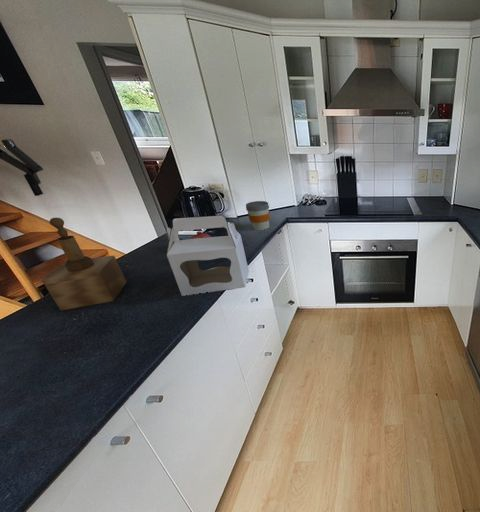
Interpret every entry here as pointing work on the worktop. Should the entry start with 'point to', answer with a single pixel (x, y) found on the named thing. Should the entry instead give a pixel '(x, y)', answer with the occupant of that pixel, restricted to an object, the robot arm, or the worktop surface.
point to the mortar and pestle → (71, 248)
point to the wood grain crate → (86, 284)
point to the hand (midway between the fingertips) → (8, 196)
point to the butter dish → (200, 235)
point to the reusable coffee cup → (258, 214)
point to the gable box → (206, 256)
